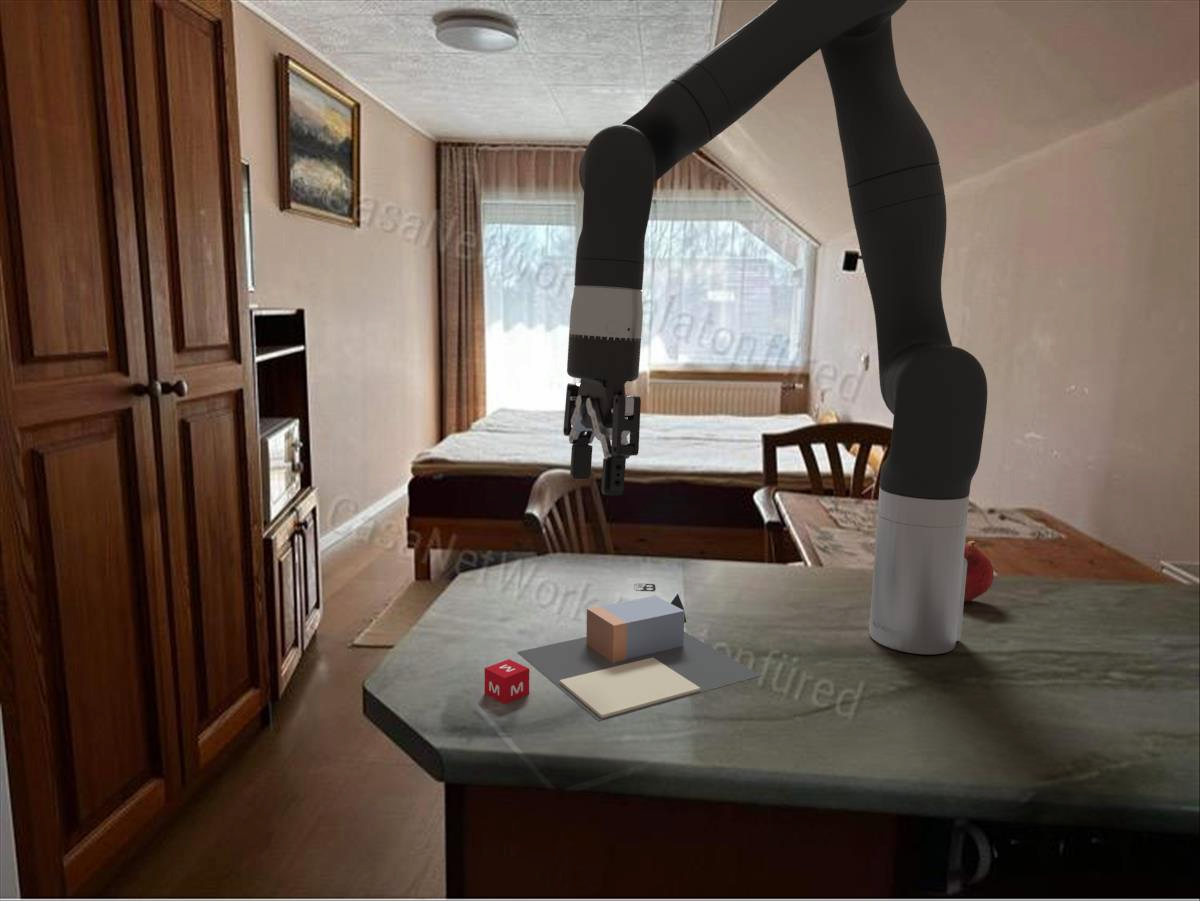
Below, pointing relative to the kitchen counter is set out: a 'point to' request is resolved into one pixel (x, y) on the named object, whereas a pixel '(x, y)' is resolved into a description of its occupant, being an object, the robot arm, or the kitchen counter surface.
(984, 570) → the onion
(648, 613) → the card box
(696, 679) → the mat
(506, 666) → the red letter m cube
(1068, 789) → the kitchen counter surface
